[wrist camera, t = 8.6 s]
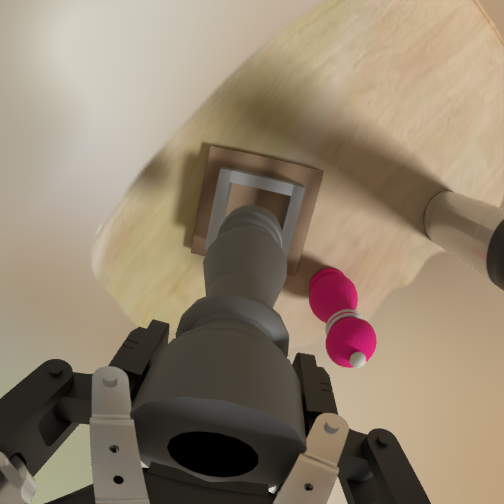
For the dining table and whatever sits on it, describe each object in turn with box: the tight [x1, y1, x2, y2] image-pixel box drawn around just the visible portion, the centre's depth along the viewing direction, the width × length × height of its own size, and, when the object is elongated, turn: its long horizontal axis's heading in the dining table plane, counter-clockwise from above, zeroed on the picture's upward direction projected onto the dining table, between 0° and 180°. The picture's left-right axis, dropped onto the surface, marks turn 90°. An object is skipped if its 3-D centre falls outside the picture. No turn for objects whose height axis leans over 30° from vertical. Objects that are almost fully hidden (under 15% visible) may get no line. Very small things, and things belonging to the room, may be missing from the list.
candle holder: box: [129, 205, 307, 489], centre depth 19 cm, size 6×6×25 cm
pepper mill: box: [309, 268, 376, 368], centre depth 38 cm, size 7×7×20 cm
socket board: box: [191, 146, 323, 276], centre depth 42 cm, size 16×16×6 cm
